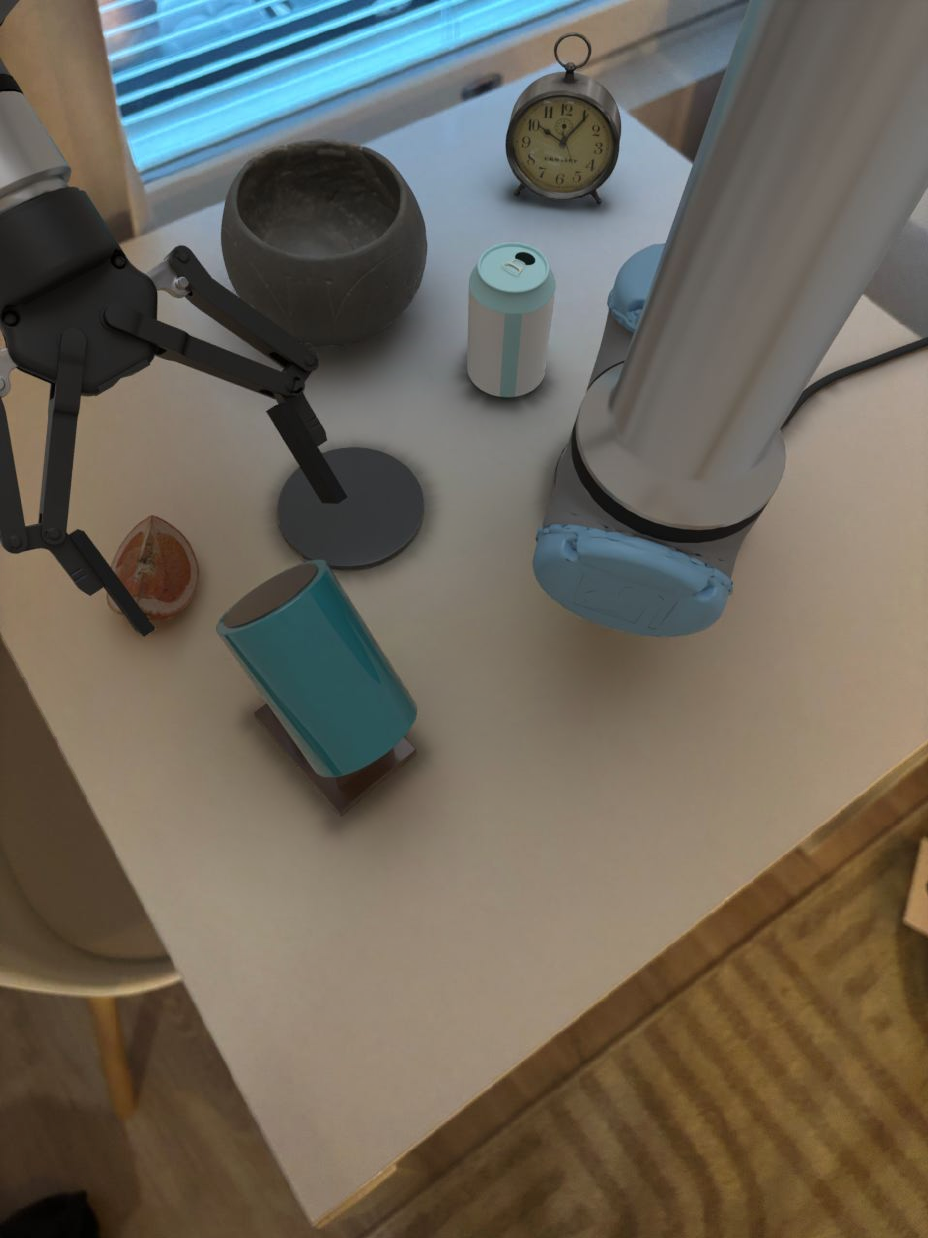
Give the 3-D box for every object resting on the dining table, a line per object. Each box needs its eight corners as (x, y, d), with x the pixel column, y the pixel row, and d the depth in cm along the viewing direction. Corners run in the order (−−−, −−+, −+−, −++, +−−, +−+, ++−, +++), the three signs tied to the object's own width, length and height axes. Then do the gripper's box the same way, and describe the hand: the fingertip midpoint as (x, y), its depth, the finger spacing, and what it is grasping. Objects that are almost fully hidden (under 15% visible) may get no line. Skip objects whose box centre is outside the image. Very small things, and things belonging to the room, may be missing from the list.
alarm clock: (501, 204, 96) (510, 42, 82) (508, 170, 99) (518, 8, 85) (608, 217, 96) (635, 56, 82) (612, 182, 98) (640, 21, 84)
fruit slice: (194, 641, 72) (177, 609, 67) (105, 640, 72) (83, 608, 67) (209, 549, 76) (194, 513, 71) (125, 548, 76) (105, 512, 71)
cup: (228, 679, 64) (180, 580, 53) (316, 614, 67) (288, 506, 55) (348, 818, 60) (324, 742, 48) (438, 743, 62) (435, 654, 51)
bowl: (372, 222, 95) (361, 100, 84) (464, 334, 88) (466, 218, 76) (208, 285, 90) (174, 165, 79) (291, 409, 83) (266, 296, 72)
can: (468, 342, 87) (470, 233, 77) (544, 345, 87) (557, 236, 77) (465, 401, 84) (467, 295, 73) (544, 403, 84) (558, 298, 73)
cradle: (254, 717, 69) (224, 651, 60) (330, 660, 71) (312, 587, 62) (340, 816, 65) (322, 763, 56) (417, 753, 68) (411, 691, 58)
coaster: (409, 441, 81) (409, 436, 81) (437, 556, 76) (436, 551, 75) (270, 463, 80) (269, 459, 80) (288, 582, 74) (286, 578, 74)
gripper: (201, 138, 55) (381, 453, 63) (-218, 345, 47) (49, 678, 55) (235, 91, 49) (431, 449, 57) (-243, 322, 40) (64, 704, 48)
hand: (244, 563), depth 56 cm, fingers open, 13 cm apart
